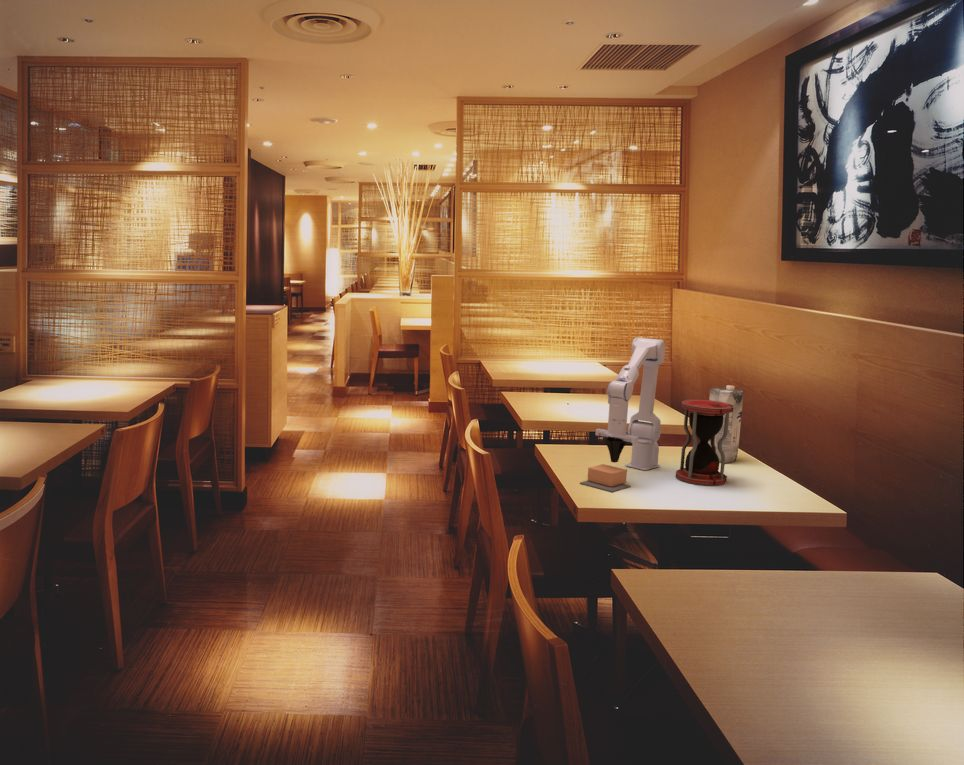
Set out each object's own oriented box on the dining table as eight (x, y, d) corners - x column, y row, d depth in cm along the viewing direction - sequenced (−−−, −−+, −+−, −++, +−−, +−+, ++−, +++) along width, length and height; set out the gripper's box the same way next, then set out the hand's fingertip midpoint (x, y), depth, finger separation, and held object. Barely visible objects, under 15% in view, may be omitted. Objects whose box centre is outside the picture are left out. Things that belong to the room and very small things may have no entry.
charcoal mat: (598, 478, 268) (598, 477, 268) (630, 486, 260) (630, 485, 260) (579, 483, 261) (579, 482, 261) (612, 492, 253) (612, 491, 253)
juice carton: (725, 464, 296) (732, 388, 292) (700, 458, 304) (707, 384, 300) (740, 461, 301) (747, 387, 297) (715, 455, 309) (722, 382, 305)
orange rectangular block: (603, 464, 268) (588, 467, 262) (627, 469, 262) (612, 473, 256) (602, 477, 269) (587, 481, 263) (626, 483, 263) (611, 487, 257)
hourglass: (710, 488, 263) (718, 410, 259) (665, 477, 274) (672, 401, 270) (735, 480, 274) (742, 405, 270) (691, 470, 285) (697, 397, 281)
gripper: (591, 416, 264) (588, 458, 266) (630, 424, 255) (626, 468, 257) (604, 414, 269) (601, 455, 272) (643, 422, 260) (639, 464, 262)
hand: (614, 461), depth 264 cm, fingers closed
